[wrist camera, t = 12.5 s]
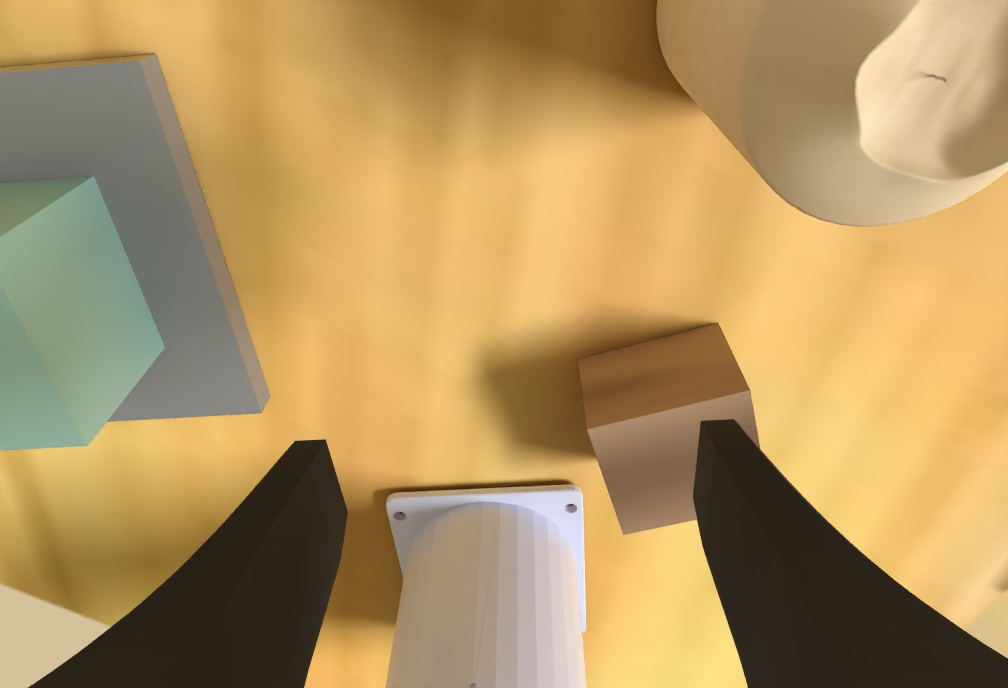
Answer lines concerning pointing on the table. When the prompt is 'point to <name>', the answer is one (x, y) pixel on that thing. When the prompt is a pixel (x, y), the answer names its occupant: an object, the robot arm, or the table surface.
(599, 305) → the table surface
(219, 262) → the slate board
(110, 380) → the teal brick
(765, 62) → the candle
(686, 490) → the walnut block
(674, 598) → the table surface
